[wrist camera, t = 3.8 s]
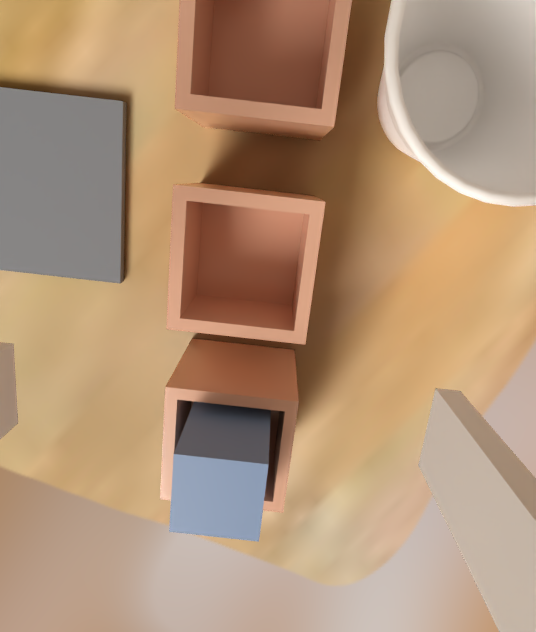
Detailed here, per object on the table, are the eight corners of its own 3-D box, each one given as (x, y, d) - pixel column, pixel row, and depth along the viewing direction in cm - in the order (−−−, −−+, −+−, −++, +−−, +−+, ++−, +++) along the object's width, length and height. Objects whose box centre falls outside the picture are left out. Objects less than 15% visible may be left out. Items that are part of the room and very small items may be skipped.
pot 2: (193, 292, 28) (166, 329, 21) (200, 182, 26) (173, 184, 19) (299, 304, 28) (305, 344, 21) (314, 195, 26) (325, 201, 19)
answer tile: (-40, 262, 28) (-47, 264, 27) (-57, 81, 25) (-65, 79, 24) (123, 281, 28) (120, 283, 27) (126, 102, 25) (122, 101, 24)
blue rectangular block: (199, 434, 28) (169, 531, 20) (204, 375, 27) (173, 453, 19) (264, 441, 28) (258, 541, 20) (271, 382, 27) (268, 464, 19)
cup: (507, -42, 23) (705, -234, 12) (544, 157, 25) (733, 143, 15) (316, 38, 24) (344, -73, 13) (370, 220, 26) (429, 248, 16)
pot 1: (202, 127, 25) (174, 108, 18) (211, -10, 23) (183, -86, 17) (319, 140, 25) (334, 126, 19) (338, 5, 23) (361, -64, 17)
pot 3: (186, 428, 31) (159, 499, 24) (192, 338, 29) (165, 387, 22) (282, 439, 31) (283, 512, 24) (294, 349, 29) (298, 401, 22)
